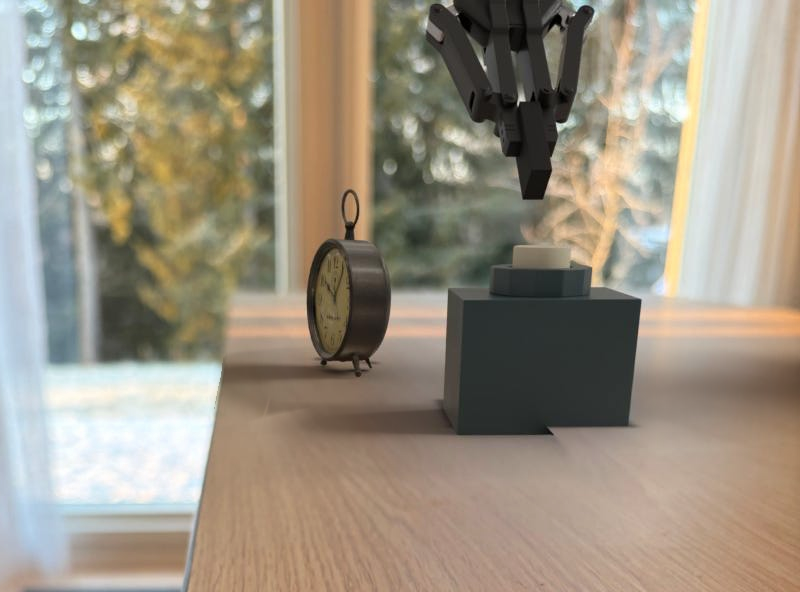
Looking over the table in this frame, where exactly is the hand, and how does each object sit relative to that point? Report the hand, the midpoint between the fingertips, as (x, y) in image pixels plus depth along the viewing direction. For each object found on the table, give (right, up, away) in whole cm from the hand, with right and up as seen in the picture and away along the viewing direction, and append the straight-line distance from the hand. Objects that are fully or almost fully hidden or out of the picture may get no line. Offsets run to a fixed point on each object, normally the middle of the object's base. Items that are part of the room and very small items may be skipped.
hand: (537, 184), depth 74 cm
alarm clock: (-12, -6, +28) cm, 31 cm away
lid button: (0, -6, 0) cm, 6 cm away
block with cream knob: (0, -16, +5) cm, 16 cm away
